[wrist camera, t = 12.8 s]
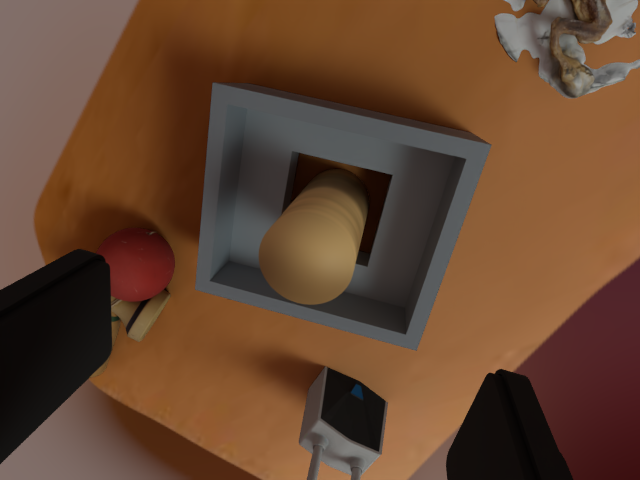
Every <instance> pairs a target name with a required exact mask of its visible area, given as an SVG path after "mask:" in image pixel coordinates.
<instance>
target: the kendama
mask: <svg viewBox="0 0 640 480" xmlns="http://www.w3.org/2000/svg"><path fill="white" fill-rule="evenodd" d="M96 254H100V255H102V256H103V257H104V258H105V260H106V263H108V264H109V266H110V279H111V318H112V348H113V346H114V343H115V340H116V337H117V334H118V331H119V327H120V322H121V320H122V322H123V323H124V325H125V328H126V331H127V336H128V337H130V338H132V339H134V340H136V341H138V342H140V341H142V339H143V338H144V337H145V335H146V334H147V333H148V331H149V330H150V328H151V327H152V325H153V324H154V322H155V320H156V319H157V318H158V316H159V314H160V312H161V311H162V309H163V308H164V306H165V304H166V303H167V301H168V300H169V298H170V293H169V292H167V291H165V290H164V289H165V287H166V286H167V285H168V284H169V282H170V280H171V278H172V276H173V273H174V268H175V259H174V254H173V251H172V249H171V247H170V245H169V244H168V242H167V241H166V240H165V239H164V238H163V237H161V236H160V235H158V234H157V232H153V231H150V230H147V229H142V228H127V229H123V230H120V231H117V232H115V233H114V234H112V235H110V236H109V237H108V238H107V239H106V240H104V242H103V243H102V244H101V245H100V247H99V248H98V250H97V252H96ZM109 358H110V356H109ZM109 358H108V359H107V361H106V362H105V363H104V364H103V365H102V366H101V367H100V368H99V369H98V370H97V371H96V372H94V373H93V374H92V375H91V376H90V377H89V378H91V377H96V376H98V375H100V374H102V373H103V372H104V371H105V369H106V368H107V365H108V361H109Z"/></svg>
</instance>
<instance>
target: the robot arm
mask: <svg viewBox="0 0 640 480" xmlns="http://www.w3.org/2000/svg"><path fill="white" fill-rule="evenodd" d="M111 351H112V318H111V279H110V266H109V264H108V263H106V260H105V258H104V257H103V256H102V255H100V254H96V253H93V252H89V251H86V250H82V249H77V250H74V251H72V252H70V253H68V254H66V255H65V256H63V257H61V258H59V259H57V260H55V261H53V262H52V263H50V264H48V265H46V266H44V267H42V268H40V269H39V270H37V271H35V272H33V273H31V274H29V275H27V276H26V277H24V278H22V279H20V280H18V281H16V282H14V283H13V284H11V285H9V286H7V287H5V288H3V289H1V290H0V464H1V463H2V462H3V461H4V460H5V459H6V458H7V457H8V456H9V455H10V454H11V453H12V452H13V451H14V450H15V449H16V448H17V447H18V446H19V445H20V444H21V443H22V442H23V441H24V440H26V438H28V437H29V435H31V434H32V433H33V432H34V431H35V430H36V429H37V428H38V427H39V426H40V425H41V424H42V423H43V422H44V421H45V420H46V419H47V418H48V417H49V416H50V415H51V414H52V413H53V412H54V411H55V410H56V409H57V408H58V407H59V406H61V404H62V403H64V402H65V401H66V400H67V399H68V398H69V397H70V396H71V395H72V394H73V393H74V392H75V391H76V390H77V389H78V388H79V387H80V386H81V385H82V384H83V383H84V382H85V381H86V380H87V379H88V378H89V377H90V376H91V375H92V374H93V373H94V372H96V371H97V370H98V369H99V368H100V367H101V366H102V365H103V364H104V363H105V362H106V361H107V359H108V358H109V356H110V354H111ZM446 470H447V479H448V480H573V478H572V475H571V473H570V471H569V468H568V466H567V464H566V461H565V459H564V458H563V456H562V454H561V453H560V452H559V450H558V448H557V445H556V443H555V440H554V438H553V435H552V433H551V431H550V428H549V426H548V423H547V421H546V419H545V416H544V414H543V411H542V409H541V407H540V404H539V402H538V399H537V397H536V395H535V392H534V390H533V387H532V385H531V383H530V381H529V379H528V377H526V376H524V375H520V374H517V373H513V372H510V371H506V370H503V369H499V370H497V371H496V373H495V374H493V373H488V374H487V376H486V377H485V379H484V381H483V383H482V385H481V387H480V389H479V391H478V393H477V395H476V397H475V399H474V401H473V403H472V405H471V407H470V409H469V411H468V413H467V415H466V417H465V419H464V421H463V423H462V425H461V427H460V429H459V431H458V433H457V435H456V437H455V439H454V442H453V444H452V445H451V448H450V449H449V452H448V455H447V461H446Z"/></svg>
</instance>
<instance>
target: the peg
mask: <svg viewBox="0 0 640 480" xmlns="http://www.w3.org/2000/svg"><path fill="white" fill-rule="evenodd" d="M369 203H370V200H369V194H368V191H367V188H366V186H365V184H364V183H363V182H362V180H361V179H360V178H359V177H357V176H356V175H355V174H353V173H351V172H349V171H346V170H343V169H329V170H326V171H323V172H321V173H319V174H318V175H316V176H315V177H314V178H313V179H312V180H311V181H310V182H309V184H308V185H307V186H306V187H305V188H304V189H303V191H302V192H301V193H300V194H299V195H298V196H297V197H296V199H295V200H294V201H293V202H292V203H291V204H290V205H289V207H288V208H287V209H286V210H285V211H284V212H283V214H282V215H281V216H280V217H279V218H278V219H277V220H276V222H275V223H274V224H273V225H272V226H271V227H270V228H269V230H268V231H267V232H266V234H265V235H264V237H263V239H262V241H261V244H260V247H259V264H260V268H261V271H262V274H263V276H264V278H265V279H266V281H267V282H268V284H269V285H270V286H271V287H272V288H273V289H274V290H275V291H276V292H277V293H279V294H280V295H281V296H283V297H285V298H286V299H288V300H291V301H293V302H296V303H301V304H308V305H315V304H322V303H325V302H328V301H331V300H333V299H334V298H336V297H338V296H339V295H340V294H341V293H342V292H343V291H344V290H345V289H346V288H347V286H348V285H349V283H350V281H351V279H352V276H353V272H354V268H355V264H356V260H357V255H358V251H359V247H360V243H361V239H362V235H363V230H364V226H365V222H366V218H367V214H368V210H369Z"/></svg>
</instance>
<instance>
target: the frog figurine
mask: <svg viewBox="0 0 640 480" xmlns="http://www.w3.org/2000/svg"><path fill="white" fill-rule="evenodd" d="M504 1H506V2H509V3H510V4H511V7H512V9H513V10H514V11H518V10H520V9H521V8H523V6H524V3H525V0H504ZM533 1H534V2H535V3H536V4H537V5H538V7H543V6H545V5H546V3H547V0H533ZM637 5H638V0H549V2H548V3H547V5H546V6H545V8H544V10H543V11H542V13H541V15H539V14H535V13H526V14H525V15H524V16H522V17H521V18H519V19H517V18H516V17H515V16H514V15H511V14H503V13H501V14H498V15H496V16H495V25H496V28H497V32H498V36H499V40H500V43H501V44H502V45H503V47H504V48H505V50H506V51H507V53H508V55H509V56H510V57H511V58H512V59H513V60H514V61H516V62H517V60H518V58H519V55H520V53H521V51H522V50H524V49H526V50H528V51H529V52H530V53H531V56H532V58H537V57H538V58H539V59H540V63H539V73H538V74H539V76H540V77H541V79H544V81H546V82H548V83H550V85H551V86H552V87H554V88H555V89H556V90H557V91H558V92H559V93H560V94H561V95H562V96H564V97H566V98H577V97H580V96H582V95H585V94H588V93H591V92H594V91H597V90H598V89H600V88H601V87H604V86H608V85H612V84H615V83H617V82H620V81H623V80H625V77H626V76H627V75H628V73H629V71H630V69H632V68H636V69H637V68H639V67H640V60H636V61H635V62H633V63H610V64H607V65H605V66H603V67H601V68H599V69H591V68H589V67H588V66H587V65H585V64H584V62H585V54H584V51H583V49H582V48H581V47H580V46H579V45H578V43H577V40H578V41H579V43H584V44H587V43H595V44H601V43H604V42H606V41H608V40H609V39H611V38H612V37H614V36H619V37H623V36H624V37H626V38H630V37H632V36H634V35H635V34H636V32H634V31H635V30H634V29H635V27H636V23H632V21H633V20H632V18H631V15H632V13H633V12H634V11H635V9H636V8H637ZM628 27H629V29H627V28H628Z"/></svg>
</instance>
